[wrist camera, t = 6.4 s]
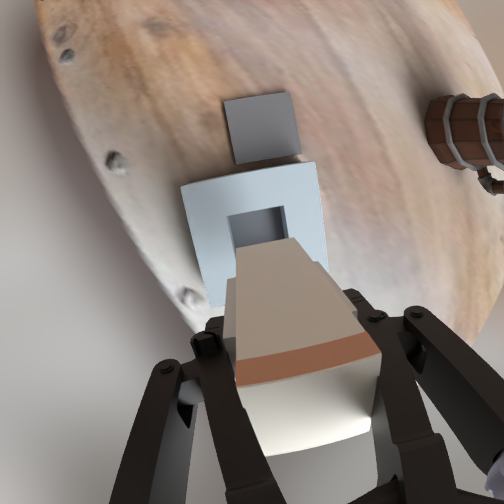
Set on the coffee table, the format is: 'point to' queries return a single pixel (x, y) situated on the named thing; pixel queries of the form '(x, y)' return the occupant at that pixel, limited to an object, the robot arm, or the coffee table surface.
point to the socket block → (252, 218)
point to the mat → (262, 127)
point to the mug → (469, 135)
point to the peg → (299, 352)
